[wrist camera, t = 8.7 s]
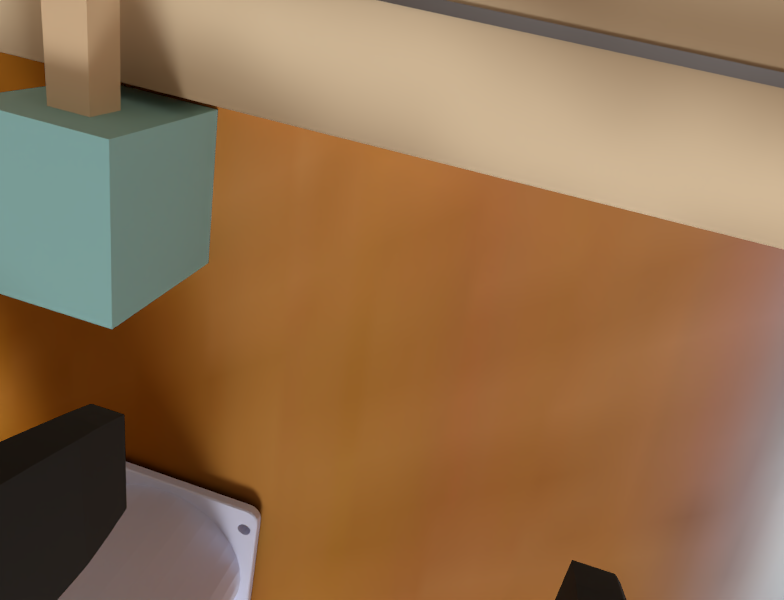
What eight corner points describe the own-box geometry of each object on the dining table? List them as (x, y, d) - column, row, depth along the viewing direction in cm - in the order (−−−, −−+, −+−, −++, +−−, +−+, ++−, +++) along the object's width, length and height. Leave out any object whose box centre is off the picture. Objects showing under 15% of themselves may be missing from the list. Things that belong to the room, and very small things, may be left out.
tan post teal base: (209, 262, 21) (112, 329, 16) (101, 230, 21) (-20, 287, 17) (235, -180, 15) (102, -256, 11) (91, -206, 16) (-90, -289, 12)
